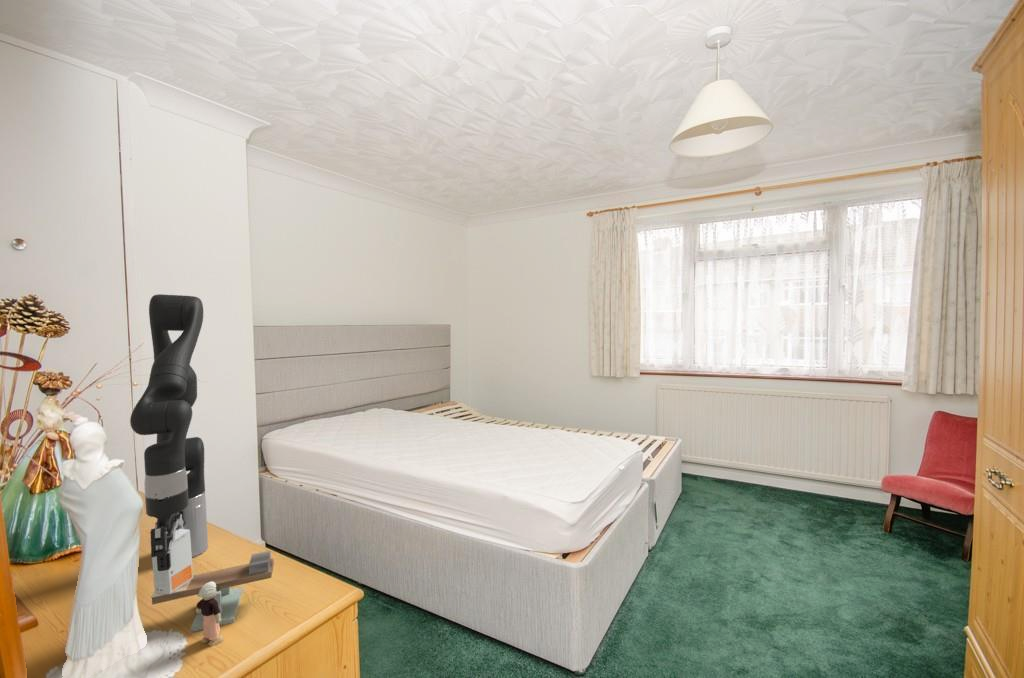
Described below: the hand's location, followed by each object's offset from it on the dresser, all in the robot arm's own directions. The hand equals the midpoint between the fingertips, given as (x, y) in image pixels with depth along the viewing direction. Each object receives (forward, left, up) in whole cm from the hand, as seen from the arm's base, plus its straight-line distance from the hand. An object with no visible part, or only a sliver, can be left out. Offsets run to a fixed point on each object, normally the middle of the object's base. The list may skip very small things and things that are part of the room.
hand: (170, 559), depth 101 cm
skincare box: (0, +1, -7) cm, 7 cm away
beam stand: (0, +9, -15) cm, 17 cm away
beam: (0, +9, -9) cm, 12 cm away
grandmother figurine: (+10, +9, -15) cm, 20 cm away
